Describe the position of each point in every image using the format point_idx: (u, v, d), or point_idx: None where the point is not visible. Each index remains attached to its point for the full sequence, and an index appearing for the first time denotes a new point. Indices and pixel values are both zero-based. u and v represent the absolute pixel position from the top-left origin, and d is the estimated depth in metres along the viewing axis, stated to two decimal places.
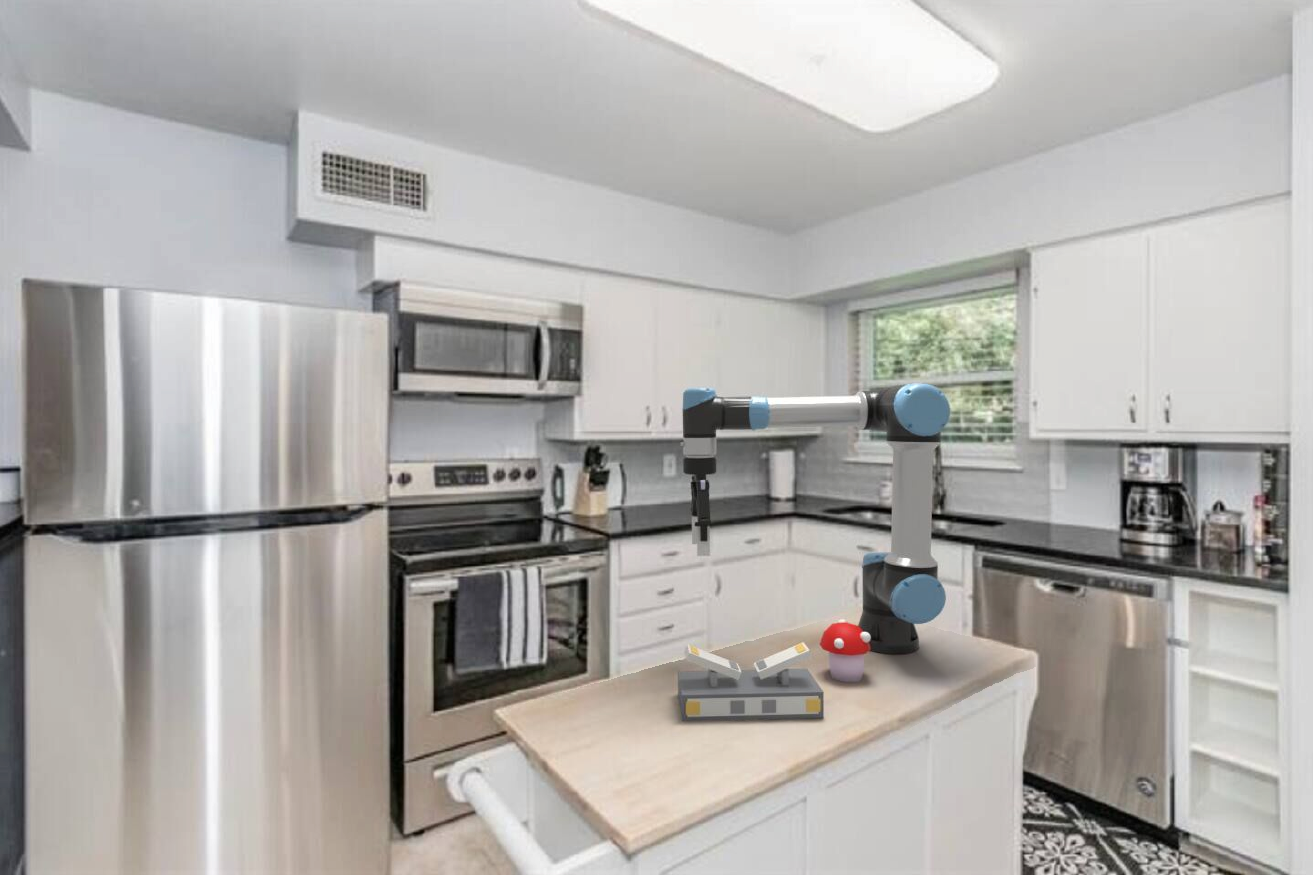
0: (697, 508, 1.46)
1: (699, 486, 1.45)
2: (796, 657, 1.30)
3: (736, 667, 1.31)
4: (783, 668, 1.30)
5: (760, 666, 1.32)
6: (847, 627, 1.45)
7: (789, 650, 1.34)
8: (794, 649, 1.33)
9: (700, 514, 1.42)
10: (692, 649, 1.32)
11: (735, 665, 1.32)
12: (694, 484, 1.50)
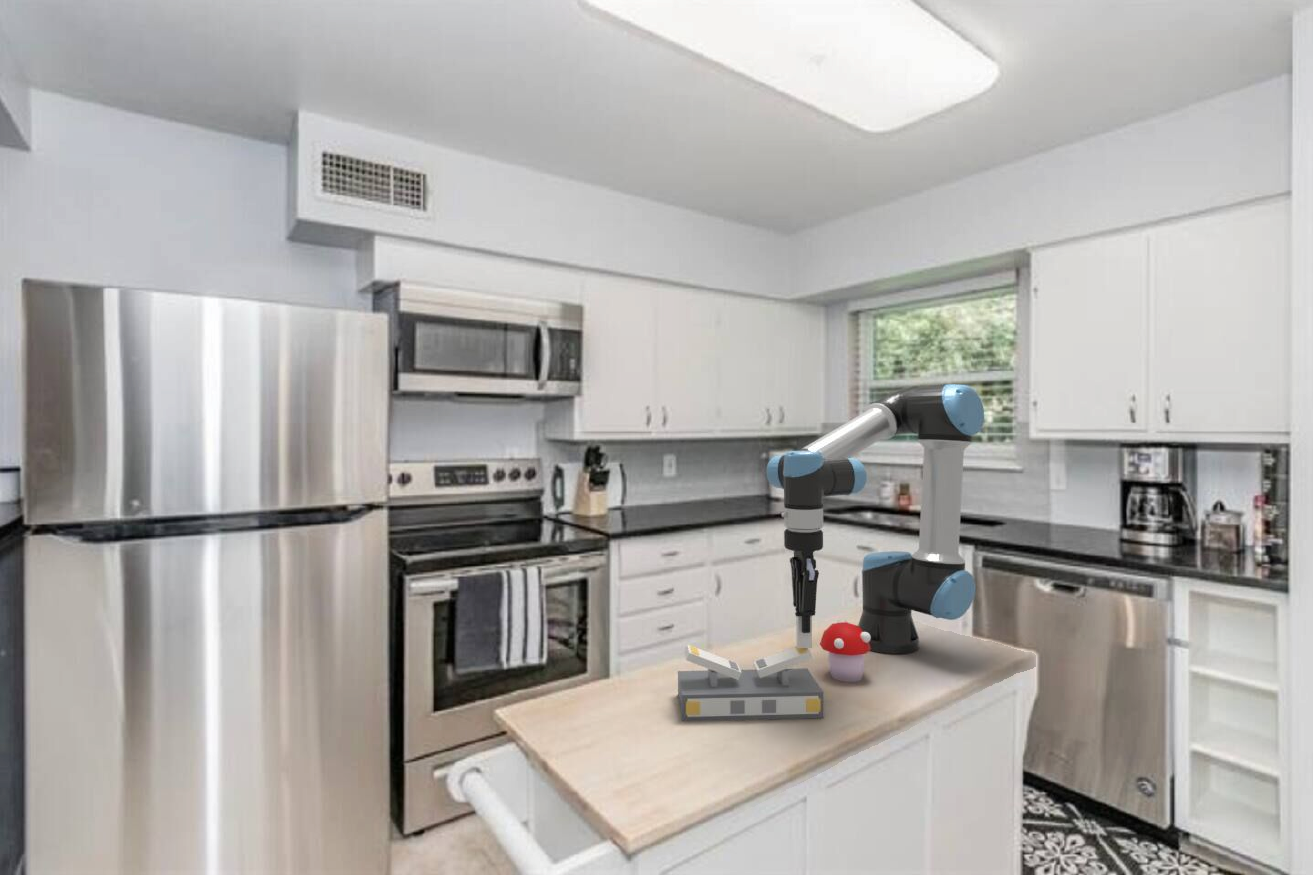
0: (800, 596, 1.30)
1: (807, 578, 1.26)
2: (797, 658, 1.30)
3: (736, 667, 1.31)
4: (783, 668, 1.30)
5: (760, 665, 1.32)
6: (847, 627, 1.45)
7: (790, 650, 1.34)
8: (795, 650, 1.33)
9: (805, 607, 1.28)
10: (692, 649, 1.32)
11: (735, 665, 1.32)
12: (799, 564, 1.30)
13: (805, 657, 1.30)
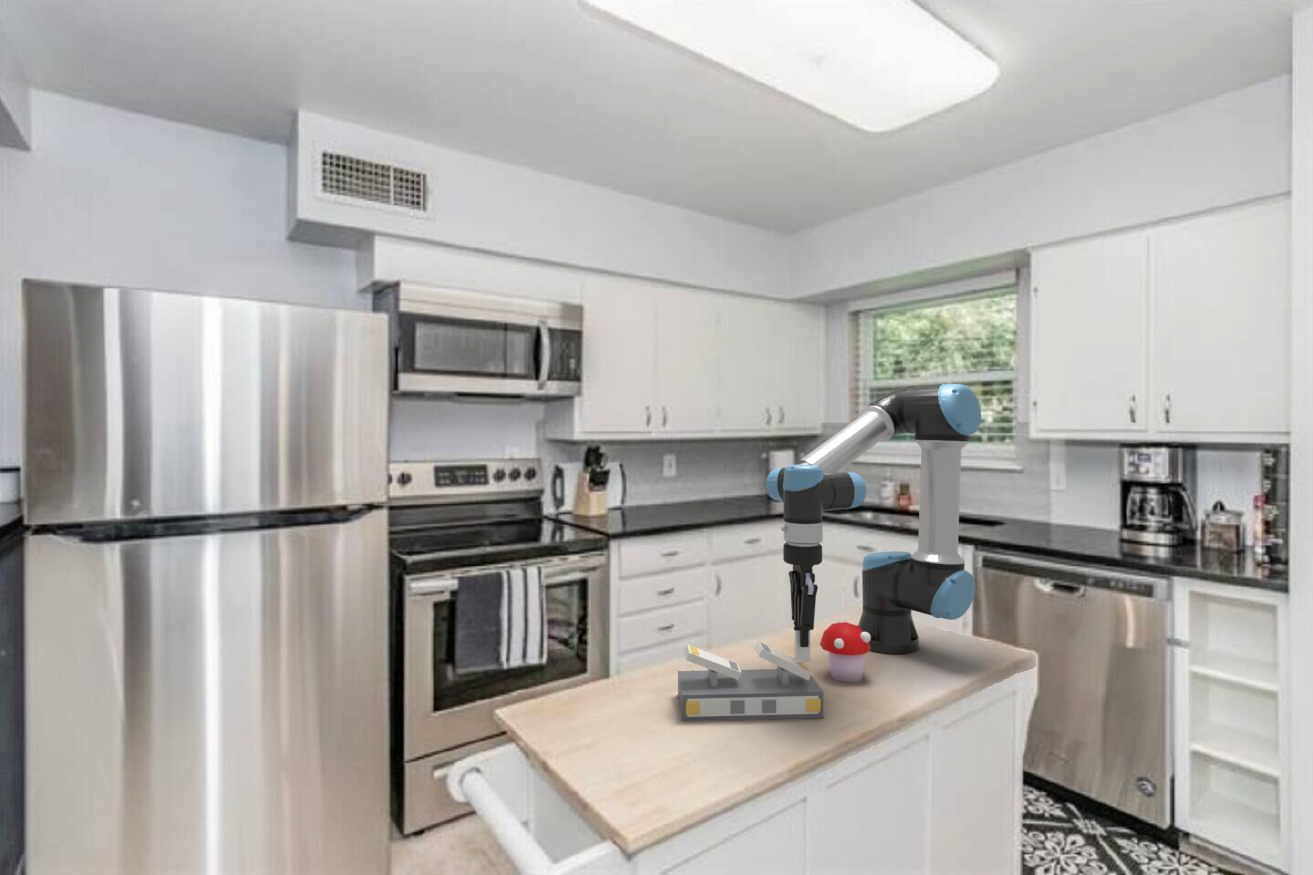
0: (799, 610, 1.30)
1: (806, 592, 1.26)
2: (798, 668, 1.30)
3: (736, 667, 1.31)
4: (781, 665, 1.30)
5: (765, 647, 1.32)
6: (847, 627, 1.45)
7: (792, 659, 1.34)
8: None
9: (803, 621, 1.28)
10: (692, 649, 1.32)
11: (735, 665, 1.32)
12: (797, 578, 1.30)
13: (804, 673, 1.30)
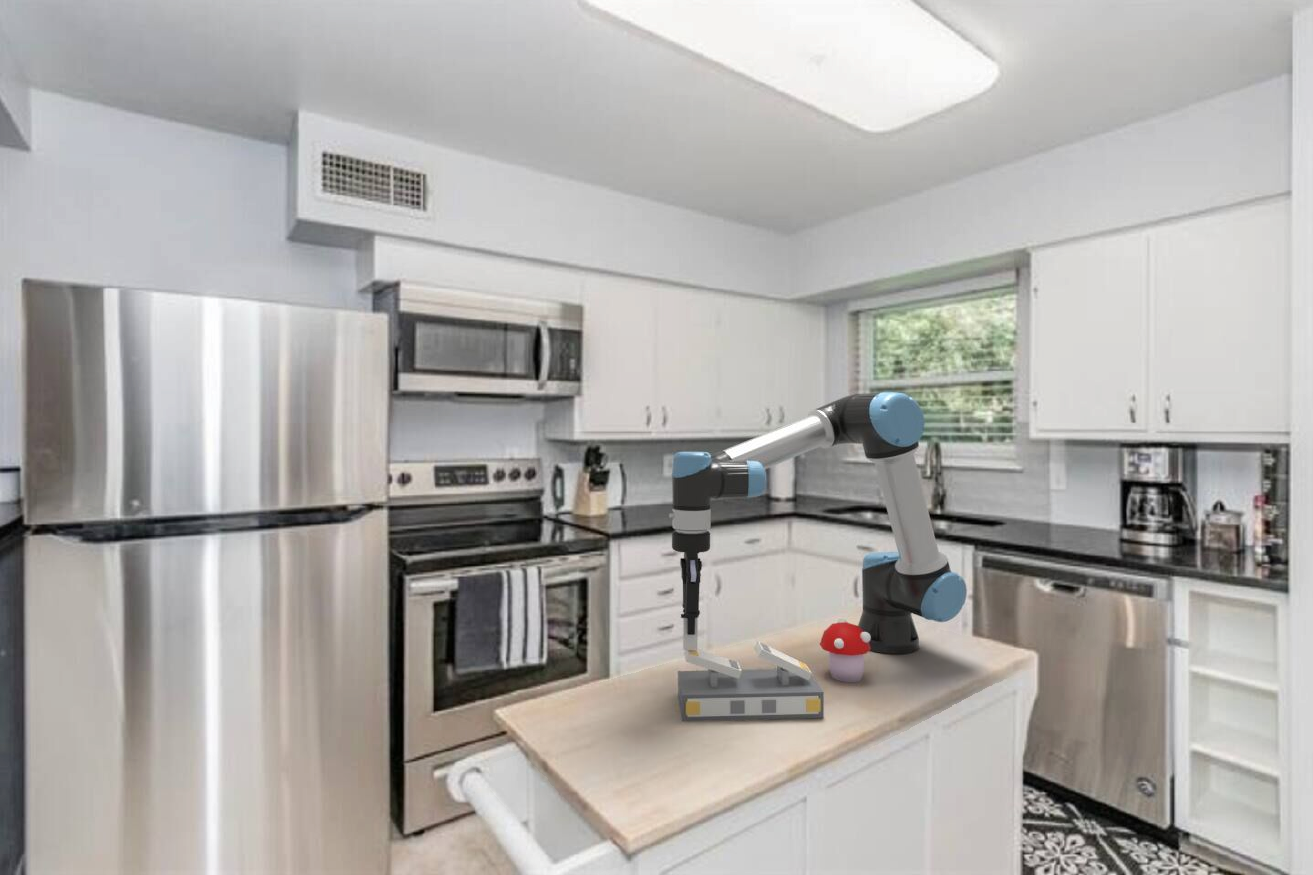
0: (685, 597, 1.30)
1: (689, 580, 1.26)
2: (798, 668, 1.30)
3: (736, 666, 1.31)
4: (781, 665, 1.30)
5: (764, 647, 1.32)
6: (847, 627, 1.45)
7: (792, 659, 1.34)
8: (797, 662, 1.34)
9: (688, 609, 1.28)
10: (691, 650, 1.32)
11: (735, 664, 1.32)
12: (684, 565, 1.30)
13: (804, 673, 1.30)
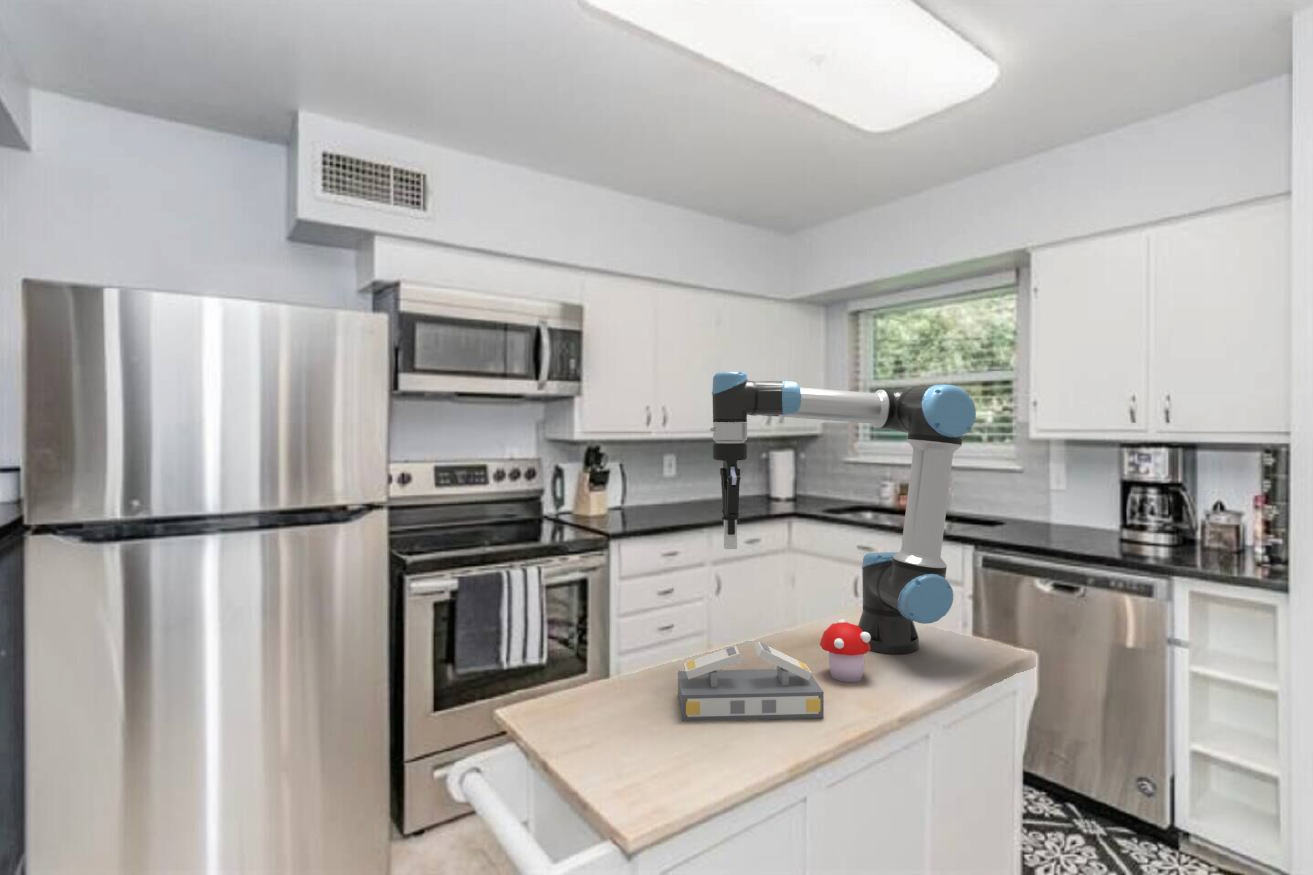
0: (726, 501, 1.46)
1: (730, 483, 1.42)
2: (798, 668, 1.30)
3: (733, 651, 1.31)
4: (781, 665, 1.30)
5: (764, 647, 1.32)
6: (847, 627, 1.45)
7: (792, 659, 1.34)
8: (797, 662, 1.34)
9: (729, 510, 1.43)
10: (688, 665, 1.32)
11: (732, 649, 1.32)
12: (724, 472, 1.45)
13: (804, 673, 1.30)
